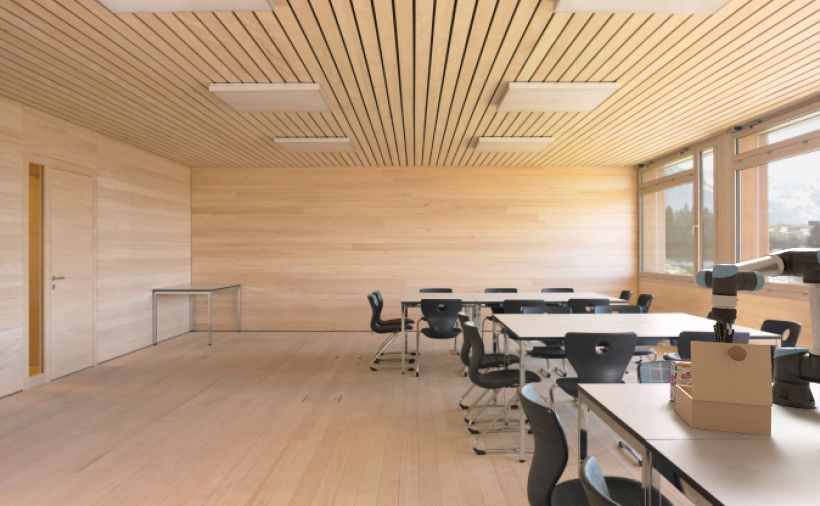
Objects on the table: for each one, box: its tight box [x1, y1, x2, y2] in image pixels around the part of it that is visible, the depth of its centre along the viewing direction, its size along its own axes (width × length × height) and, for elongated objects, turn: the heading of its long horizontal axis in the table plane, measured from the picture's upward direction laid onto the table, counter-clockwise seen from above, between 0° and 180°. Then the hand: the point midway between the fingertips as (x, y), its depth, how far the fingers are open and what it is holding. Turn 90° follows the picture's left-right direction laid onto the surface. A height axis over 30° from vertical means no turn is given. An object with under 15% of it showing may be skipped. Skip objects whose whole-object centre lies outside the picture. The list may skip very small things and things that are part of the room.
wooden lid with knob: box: [690, 340, 774, 407], centre depth 160 cm, size 24×20×9 cm
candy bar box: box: [669, 360, 692, 403], centre depth 197 cm, size 11×5×16 cm, turn 84°
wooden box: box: [674, 385, 772, 436], centre depth 173 cm, size 24×20×10 cm
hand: (722, 373), depth 170 cm, fingers closed
